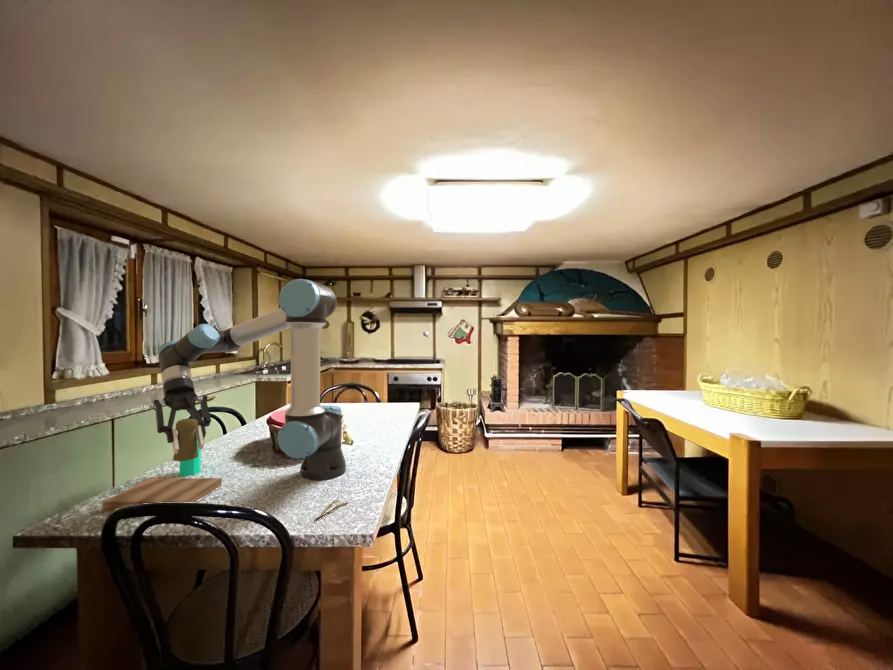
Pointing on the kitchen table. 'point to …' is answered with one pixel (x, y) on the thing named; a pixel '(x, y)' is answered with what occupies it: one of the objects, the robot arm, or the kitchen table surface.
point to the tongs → (330, 510)
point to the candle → (191, 465)
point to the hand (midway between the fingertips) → (189, 449)
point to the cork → (186, 440)
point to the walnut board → (163, 491)
